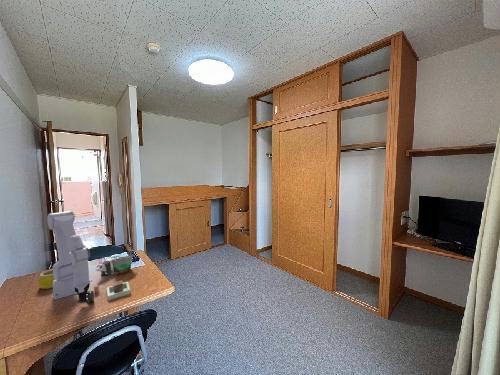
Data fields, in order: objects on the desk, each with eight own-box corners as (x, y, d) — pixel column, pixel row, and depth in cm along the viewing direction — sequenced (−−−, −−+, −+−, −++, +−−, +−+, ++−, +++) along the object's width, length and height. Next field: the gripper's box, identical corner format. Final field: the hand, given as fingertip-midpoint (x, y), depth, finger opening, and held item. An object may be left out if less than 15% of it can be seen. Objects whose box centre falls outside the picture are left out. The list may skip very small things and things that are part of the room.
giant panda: (111, 268, 143) (110, 255, 142) (119, 269, 143) (118, 255, 142) (93, 280, 129) (91, 265, 128) (101, 280, 128) (100, 265, 127)
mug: (35, 287, 121) (33, 267, 120) (59, 278, 131) (57, 259, 130) (45, 293, 115) (43, 272, 114) (70, 283, 125) (68, 263, 124)
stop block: (114, 294, 113) (113, 285, 112) (113, 291, 116) (113, 282, 116) (123, 292, 115) (122, 283, 115) (122, 288, 118) (121, 280, 118)
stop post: (94, 294, 115) (93, 287, 114) (94, 292, 116) (94, 286, 116) (99, 292, 116) (98, 286, 115) (99, 291, 117) (98, 284, 117)
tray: (108, 300, 109) (107, 296, 108) (107, 291, 117) (106, 287, 116) (130, 293, 114) (130, 289, 114) (128, 285, 122) (127, 281, 122)
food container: (116, 278, 131) (114, 262, 130) (111, 275, 135) (110, 259, 134) (136, 270, 141) (135, 255, 140) (132, 267, 145) (131, 253, 144)
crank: (76, 297, 111) (75, 288, 110) (91, 292, 116) (90, 283, 115) (84, 306, 104) (83, 296, 103) (99, 299, 109) (98, 290, 109)
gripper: (91, 276, 101) (93, 304, 102) (91, 265, 112) (93, 290, 114) (71, 281, 97) (74, 310, 98) (74, 269, 108) (76, 295, 110)
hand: (83, 299), depth 105 cm, fingers closed, pressing on crank
